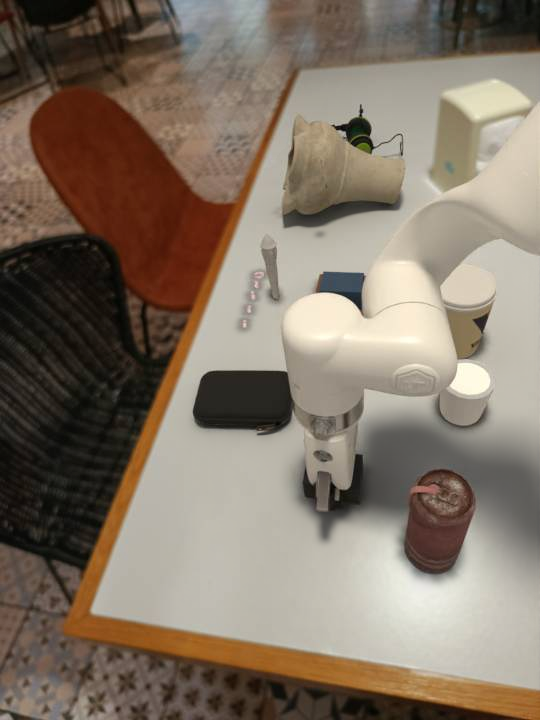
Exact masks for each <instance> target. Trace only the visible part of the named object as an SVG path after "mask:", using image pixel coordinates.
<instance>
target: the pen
mask: <svg viewBox="0 0 540 720" xmlns="http://www.w3.org/2000/svg"><path fill="white" fill-rule="evenodd" d="M277 245H278V244H277V241H275V240H274V238H273V237H272V236H271V235H270V234H268V233H265V234H264V236H263V238H262V240H261V243H260V245H259V246H260V248H261V250H260V252H261V256H262V258H263V261H264V266H265V271H266V275H267V279H268V283H269V286H270V287H269V288H270V291H271V295H272V298H273V300H277V301H278V300H279V299H280V288H279V273H278V272H279V271H278V265H277V263H278V262H277V259H278V247H277Z"/></svg>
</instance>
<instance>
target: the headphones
mask: <svg viewBox="0 0 540 720" xmlns="http://www.w3.org/2000/svg"><path fill="white" fill-rule="evenodd" d="M358 112H359V114H358V116H355V117H352V118H350V120H349V121H348V122H347V123H341V125H335V124H330V125H331V126H332V127H334V128H335V129H336V130H337V131H338V132H339V131H340V132H345V136H346V138H347V141H348V142H349V143H350V144H351V145H352V146H354V147H356V148H358V149H360V150H362V151H364V152H366V153H369V154H372V155H373V150H375V149H377V148H379V147H380V146H381V145H384V144H389V143H391V142H392V141H393V140H394V139H395V138H396V137H397V136H401V138H400V141H399V151H400V156H401V157H403V156H404V137H403V134H402V133H397V134H395V135H393V137H391V139H390V140H388V141H383V142H381V143H379V144H378V145H376V146H374V142H373V140H372V138H371V134H372V131H373V128H372V127H373V126H372V124H371V122H370V121H369V120H368V119H367V118H366V117H364V116H363V114H364V109H363V106H362V103H360V104H359V109H358Z"/></svg>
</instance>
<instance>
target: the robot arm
mask: <svg viewBox="0 0 540 720" xmlns="http://www.w3.org/2000/svg"><path fill="white" fill-rule="evenodd" d="M496 240H503V241H505V242H506V243H508V244H510V245H511V246H514V247H515V248H517V249H519V250H522V251H524V252H526V253H529V254H531V255H535V256H539V257H540V100H538V102H537V103H536V104H535V105H534V107H533V108H532V109H531V110H530V111H529V113H528V114H527V115H526V116H525V117H524V119H523V120H522V121H521V123H520V124H519V125H518V126H517V127H516V129H515V130H514V131H513V132H512V134H511V135H510V136H509V137H508V139H506V141H505V142H504V143H503V145H502V146H501V147H500V148H499V150H498V151H497V152H496V153H495V154H494V155H493V157H492V158H491V159H490V160H489V162H488V163H487V164H486V165H485V166H484V167H483V168H482V170H480V172H479V173H478V174H477V175H476V176H474V178H472V179H471V180H469V181H467V182H465V183H463V184H460V185H457V186H455V187H453V188H451V189H449V190H447V191H445V192H443V193H442V194H439V195H438V196H436V197H435V198H433V199H431V200H429V201H427V202H426V203H424V204H423V205H421V206H420V207H418V208H417V209H416V210H414V211H413V212H412V213H411V214H409V216H407V218H405V220H403V222H402V223H401V224H400V226H398V227H397V229H396V231H395V232H394V233H393V234H392V236H391V237H390V238H389V239H388V241H387V242H386V244H385V245H384V246H383V248H382V249H381V251H380V252H379V253H378V254H377V256H376V257H375V259H374V260H373V262H372V263H371V265H370V266H369V269H368V271H367V272H366V275H365V276H366V277H365V280H364V283H363V287H362V312H363V316H362V314H361V312H360V310H359V309H358V308H357V306H356V305H355V304H354V303H353V302H352V301H350V300H349V299H347V298H346V297H344V296H341V295H338V294H334V293H316V292H314V293H311V294H307V295H303V296H302V297H300V298H299V299H296V300H295V301H294V302H293V303H291V305H290V306H289V307H288V308H287V309H286V311H285V313H284V315H283V317H282V320H281V325H280V335H281V341H282V347H283V353H284V359H285V366H286V372H288V379H289V385H290V392H291V397H292V410H293V414H294V418H295V419H296V421H297V422H298V424H299V425H300V426H301V427H302V428H303V445H304V456H305V457H304V458H305V467H306V468H307V475H308V479H309V481H310V483H311V484H312V485H314V484H316V511H317V512H324V513H328V512H329V511H330V512H335V511H336V510H338V511H339V510H344V502H343V492H342V491H341V490H347V489H348V488H349V487H350V486H351V483H352V477H353V469H354V462H355V454H357V445H358V435H359V422H360V420H361V419H362V417H363V414H364V410H365V407H364V406H365V403H364V402H365V390H369V391H375V392H379V393H384V394H389V395H394V396H400V397H401V396H403V397H410V398H411V397H412V398H413V397H414V398H417V397H421V398H422V397H428V396H433V395H436V394H440V392H441V391H443V390H444V389H446V388H447V387H448V386H449V385H450V384H451V383H452V382H453V380H454V378H455V376H456V373H457V368H458V362H457V354H456V349H455V345H454V341H453V337H452V333H451V330H450V326H449V321H448V317H447V313H446V309H445V305H444V301H443V297H442V293H441V289H440V287H441V285H442V284H443V283H444V281H445V280H446V279H447V278H448V277H449V275H450V274H451V273H452V272H453V271H454V270H455V269H456V268H457V267H458V266H459V264H462V263H463V261H464V260H466V258H468V257H469V256H470V255H471V254H472V253H473V252H475V251H477V249H479V248H480V247H483V246H484V245H486V244H489V243H491V242H493V241H496ZM330 484H334V485H335V488H330ZM340 489H341V490H340Z"/></svg>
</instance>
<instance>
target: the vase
mask: <svg viewBox="0 0 540 720" xmlns="http://www.w3.org/2000/svg"><path fill="white" fill-rule="evenodd" d="M331 125H332V124H329V123H328V122H326V121H322V120H315V121H312V122H308V121H307V120H306V119H305V118H304V116H302V114H300V113H298V112H297V113H296V116H295V118H294V122H293V126H292V131H291V146H290V149H289V152H288V155H287V165H286V173H285V177H284V180H283V181H284V182H283V185H282V190H284V192H283V195H282V198H281V214H282V215H283V216H284V215H287V214H289V213H290V212H292V211H294V210H297V212H299V214H302V215H314V214H317V213H320V212H322V211H323V210H325V209H327V208H329V207H331V206H332V205H334V206H335V205H338V204H341V203H348V202H353V201H355V202H356V201H366V202H367V201H369V202H378V203H379V202H380V203H384V204H389V205H394V204H395V203H396V202H397V200H398V199H399V196H400V193H401V190H402V186H403V183H404V179H405V171H406V162H405V159H403V158H401V159H400V158H399V159H398V158H397V159H396V158H388V157H384V156H379V155H375V154H373V153H372V154H369V153H366V152H364V151H362V150H360V149H358V148H356V147H354V146H352V145H351V144H350V143H349V142H348V140H345V139H344V137H343V136H342V135H341V133H339V130H338V131H337V130H336V129H335V128H334V127H332V126H331ZM378 141H379V140H378Z"/></svg>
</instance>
